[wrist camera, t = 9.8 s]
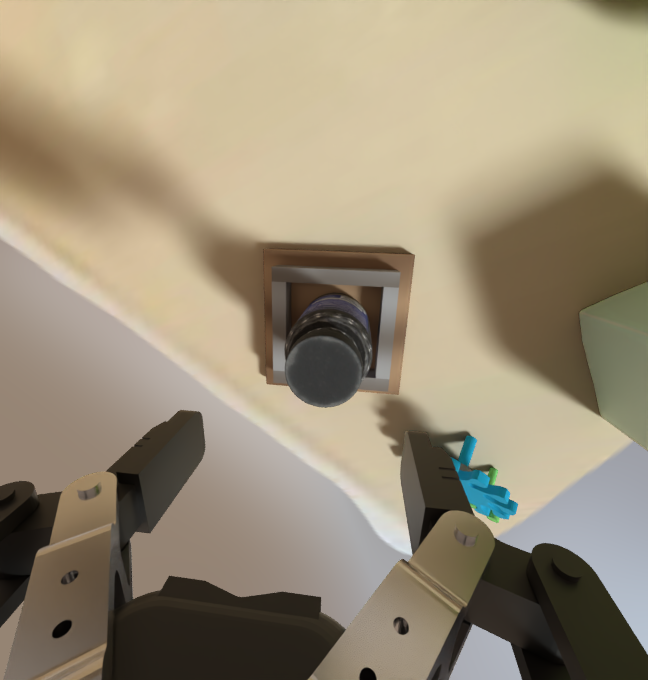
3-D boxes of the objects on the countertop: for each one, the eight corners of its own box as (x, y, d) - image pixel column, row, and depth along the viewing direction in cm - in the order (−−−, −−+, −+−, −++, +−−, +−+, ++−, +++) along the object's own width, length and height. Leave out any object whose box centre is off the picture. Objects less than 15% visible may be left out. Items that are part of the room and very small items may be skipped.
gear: (382, 456, 32) (469, 474, 24) (405, 408, 35) (491, 409, 26) (446, 512, 35) (544, 546, 27) (463, 464, 38) (557, 480, 30)
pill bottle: (292, 306, 29) (254, 344, 19) (354, 280, 28) (350, 305, 17) (319, 365, 31) (298, 430, 20) (379, 343, 29) (390, 400, 19)
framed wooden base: (267, 248, 29) (255, 249, 26) (412, 254, 28) (419, 256, 25) (269, 379, 33) (259, 394, 30) (397, 389, 32) (401, 405, 28)
